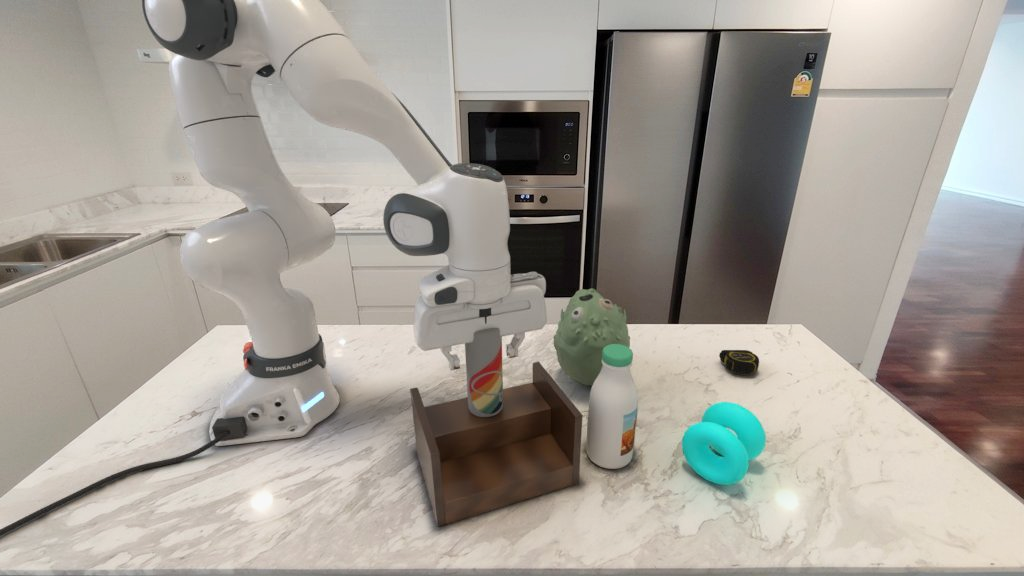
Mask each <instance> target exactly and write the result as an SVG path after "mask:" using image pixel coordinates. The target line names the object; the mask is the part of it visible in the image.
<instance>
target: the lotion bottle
mask: <svg viewBox="0 0 1024 576" xmlns="http://www.w3.org/2000/svg"><path fill="white" fill-rule="evenodd" d="M490 315H491V308H488V309H479V317H485V324H486V322H487V317H488V316H490ZM464 353H465V355H464V356H465V373H466V389H467V397H468V406H469V410H470V412H471V413H472V414H474V415H476V416H479V417H491V416H494V415H496V414H498V413H499V412H500V411H501V410H502V407H503V389H504V380H503V379H504V378H503V377H504V375H503V336H502V337H500V329H499V328H489V329H483V330H480V331H476V332H474V339H473V342H470V343H465V344H464Z"/></svg>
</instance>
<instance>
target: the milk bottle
mask: <svg viewBox="0 0 1024 576" xmlns="http://www.w3.org/2000/svg"><path fill="white" fill-rule="evenodd" d="M633 359H634V353H633V350H632V349H631V348H630V347H629V348H628V347H627V346H624V345H620V344H611V345H607V346H605V347H604V348H603V351H602V364H603V367H602V369H601V371H600V373H599V375H598V377H597V378H596V380H595V381H594V383H593V385H591V389H590V392H589V401H588V409H587V410H588V411H587V426H586V443H585V445H586V446H585V451H586V455H587V456H588V458H589V459H590V461H591V462H592V463H594V464H595V465H596V466H599V467H600V468H604V469H609V470H614V469H615V470H616V469H622V468H624V467H626V466H627V465H628V464H630V462H631V461H632V460H633V455H634V446H635V439H636V430H637V429H636V427H637V418H638V409H639V408H638V405H639V404H638V403H639V394H638V390H637V386H636V383H635V381H634V378H633V376H632V372H631V367H632V366H633Z"/></svg>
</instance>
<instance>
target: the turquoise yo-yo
mask: <svg viewBox="0 0 1024 576" xmlns="http://www.w3.org/2000/svg"><path fill="white" fill-rule="evenodd" d="M681 439H682V440H681V447H682V453H683V456H684V458H685V460H686V462H687V463H688V466H690V467H691V468H692V469H693V471H694V472H695V473H697V475H699V476H700V477H701V478H703V479H705V480H706V481H707V482H708V481H709V482H711V483H713V484H715V485H721V486H729V485H734V484H736V483H739V482H741V480H743V479H744V478H745V476H746V475H747V473H748V470H749V467H750V461H752V460H754V459H756V458H758V457H759V456H760V455H761V454H762V453H763V452H764V449H765V447H766V444H767V443H766V442H767V436H766V431H765V428H764V426H763V424H762V423H761V421H760V420H759V419H758V417H757V416H756V415H755V414H754V413H753V412H751V410H749V409H747V408H746V407H744V406H743V405H740V404H739V403H735V402H729V401H720V402H716V403H713V404H711V405H710V406H708V407H707V409H705V411H704V412H703V414H702V417H701V421H699V422H695V423H694V424H691V425H690V426H688V427H687V429H686V430H685V432H684V433H683V436H682V438H681ZM710 447H711V448H712V449H713V450H714V451H715V452H716V453H718V454H719V455H718V454H716V453H715V452H714V451H713V450H712V449H711V448H710ZM720 455H721V456H720Z"/></svg>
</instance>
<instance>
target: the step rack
mask: <svg viewBox="0 0 1024 576" xmlns="http://www.w3.org/2000/svg"><path fill="white" fill-rule="evenodd" d="M409 391H410V402H411V411H412V418H413V429H414V436H415V446H416V447H415V448H416V455H417V458H418V462H419V465H420V468H421V472H422V475H423V479H424V483H425V487H426V490H427V495H428V498H429V501H430V505H431V509H432V512H433V515H434V519H435V523H436V526H437V527H442V526H446V525H449V524H452V523H455V522H458V521H461V520H464V519H468V518H472V517H475V516H478V515H481V514H484V513H487V512H488V513H489V512H491V511H493V510H497V509H501V508H503V507H506V506H507V507H508V506H510V505H513V504H516V503H520V502H523V501H526V500H530V499H533V498H536V497H539V496H542V495H545V494H549V493H552V492H554V491H555V492H556V491H558V490H559V491H560V490H562V489H565V488H568V487H572V486H574V485H578V484H579V483H580V468H581V453H582V451H581V450H582V433H583V431H582V430H583V414H582V412H580V410H579V409H578V408H577V406H576V405H575V404H574V402H572V401H571V399H570V398H569V396H567V394H566V393H565V392H564V391H563V389H562V388H561V387H560V386H559V384H558V383H557V382H556V381H555V380H554V378H553V377H552V376H551V375H550V373H549V372H548V371H547V369H545V368H544V366H543V365H542V364H541V363H540V361H535V362H532V382H528V383H524V384H520V385H515V386H511V387H507V388H503V407H502V410H501V411H500V412H499V413H498V414H496V415H494V416H491V417H479V416H476V415H474V414H472V413H471V412H470V410H469V406H468V396H466V397H462V398H457V399H454V400H447V401H445V402H440V403H435V404H431V405H426V406H425V405H424V402H423V400H422V399H423V398H422V396H421V394H420V391H419V388H418V387H411V388H410V390H409Z"/></svg>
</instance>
